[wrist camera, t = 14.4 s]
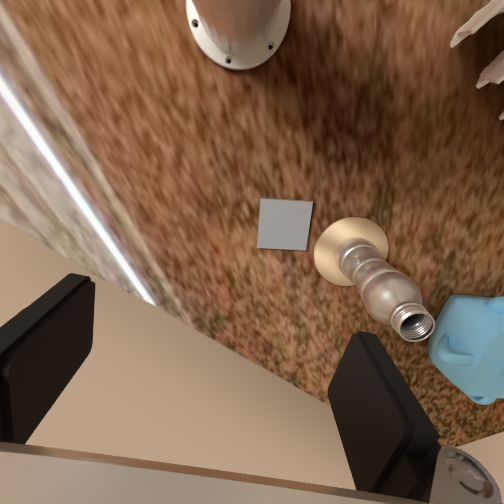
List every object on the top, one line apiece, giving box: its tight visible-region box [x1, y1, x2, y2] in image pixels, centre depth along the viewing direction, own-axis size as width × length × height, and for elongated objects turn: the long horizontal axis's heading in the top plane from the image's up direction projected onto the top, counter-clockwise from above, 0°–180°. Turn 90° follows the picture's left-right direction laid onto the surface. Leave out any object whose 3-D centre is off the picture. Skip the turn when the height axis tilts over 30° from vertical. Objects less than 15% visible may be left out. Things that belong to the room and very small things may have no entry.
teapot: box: [427, 294, 504, 405], centre depth 48 cm, size 18×16×14 cm
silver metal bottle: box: [335, 237, 435, 342], centre depth 39 cm, size 6×7×20 cm
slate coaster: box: [257, 198, 313, 251], centre depth 46 cm, size 8×8×1 cm
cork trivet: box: [314, 217, 388, 286], centre depth 48 cm, size 12×12×1 cm
